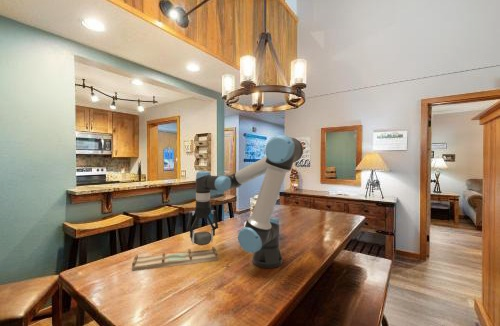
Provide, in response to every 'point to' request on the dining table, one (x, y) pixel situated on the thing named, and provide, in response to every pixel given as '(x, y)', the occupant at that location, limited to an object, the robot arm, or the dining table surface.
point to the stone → (202, 238)
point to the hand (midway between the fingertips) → (202, 242)
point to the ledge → (174, 259)
